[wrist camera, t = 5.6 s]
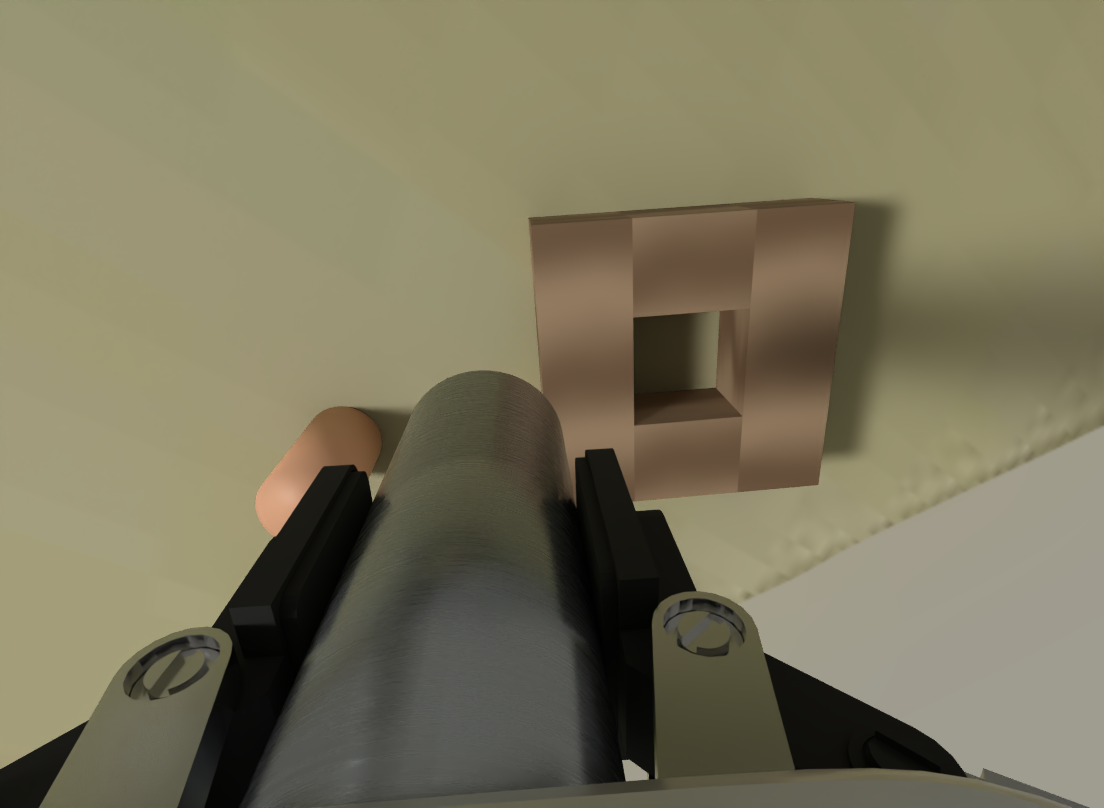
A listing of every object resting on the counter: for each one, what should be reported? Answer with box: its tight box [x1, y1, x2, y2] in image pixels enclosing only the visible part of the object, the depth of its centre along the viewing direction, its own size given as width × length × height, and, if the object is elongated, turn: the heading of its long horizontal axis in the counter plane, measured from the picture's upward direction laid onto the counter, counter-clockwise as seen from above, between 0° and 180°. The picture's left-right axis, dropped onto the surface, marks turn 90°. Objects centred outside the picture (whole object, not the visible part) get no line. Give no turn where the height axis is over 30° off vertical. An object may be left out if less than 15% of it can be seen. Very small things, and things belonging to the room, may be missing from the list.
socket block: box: [529, 198, 855, 503], centre depth 29 cm, size 14×14×4 cm
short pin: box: [255, 407, 382, 537], centre depth 29 cm, size 4×4×7 cm
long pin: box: [239, 371, 626, 808], centre depth 9 cm, size 4×4×12 cm
